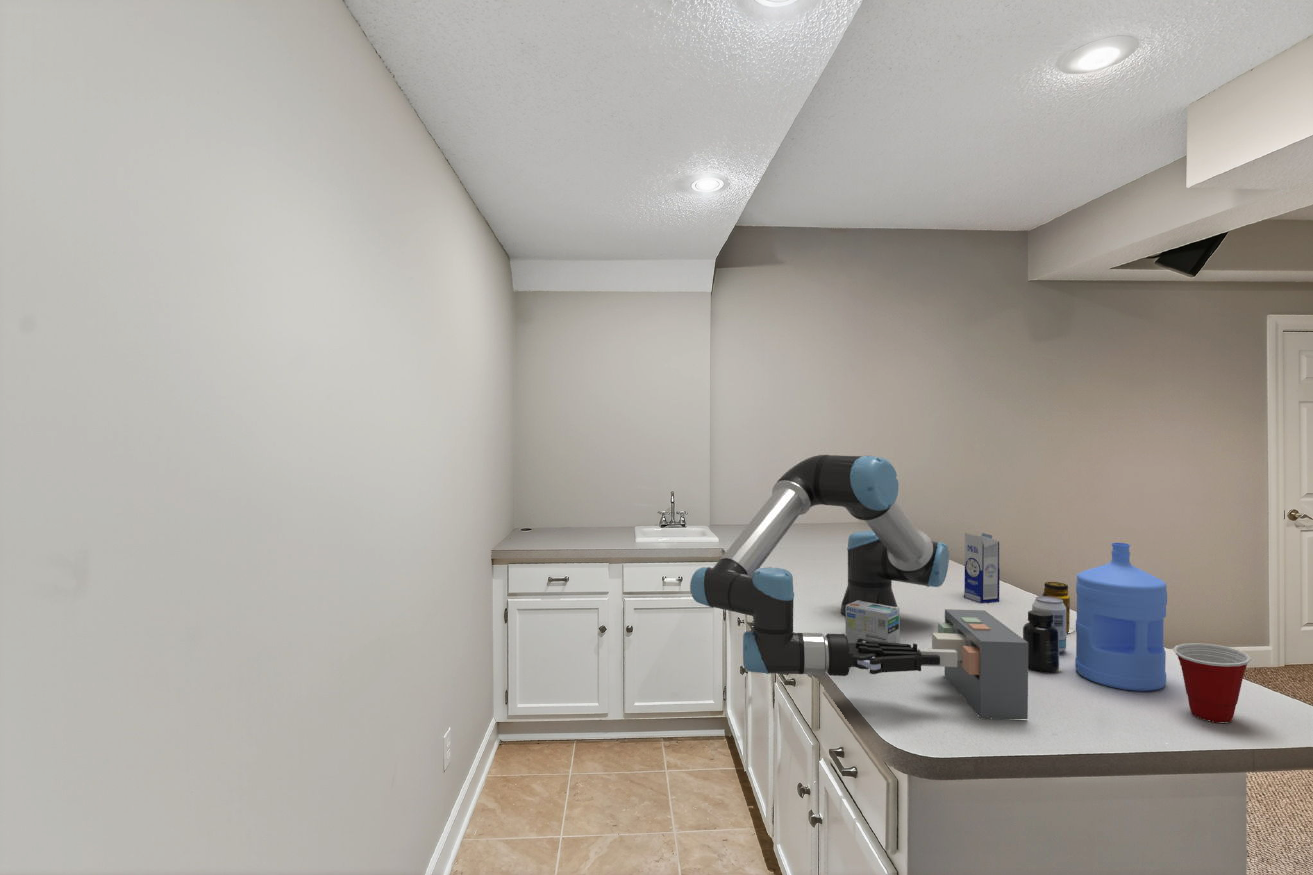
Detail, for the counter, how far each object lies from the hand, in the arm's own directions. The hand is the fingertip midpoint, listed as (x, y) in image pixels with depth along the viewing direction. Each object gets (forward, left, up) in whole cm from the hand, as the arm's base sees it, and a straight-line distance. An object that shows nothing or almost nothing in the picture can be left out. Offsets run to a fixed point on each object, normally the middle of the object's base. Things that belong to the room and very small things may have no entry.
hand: (955, 658), depth 125 cm
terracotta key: (+5, +3, -2) cm, 6 cm away
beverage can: (+10, +48, -10) cm, 50 cm away
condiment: (+9, +66, -10) cm, 67 cm away
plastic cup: (+38, +24, -10) cm, 46 cm away
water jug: (+24, +37, -10) cm, 45 cm away
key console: (+3, +10, -10) cm, 14 cm away
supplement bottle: (+10, +34, -10) cm, 37 cm away
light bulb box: (-23, +23, -10) cm, 34 cm away
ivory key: (-2, +7, -2) cm, 8 cm away
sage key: (-3, +16, -2) cm, 16 cm away
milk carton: (-12, +88, -10) cm, 90 cm away
